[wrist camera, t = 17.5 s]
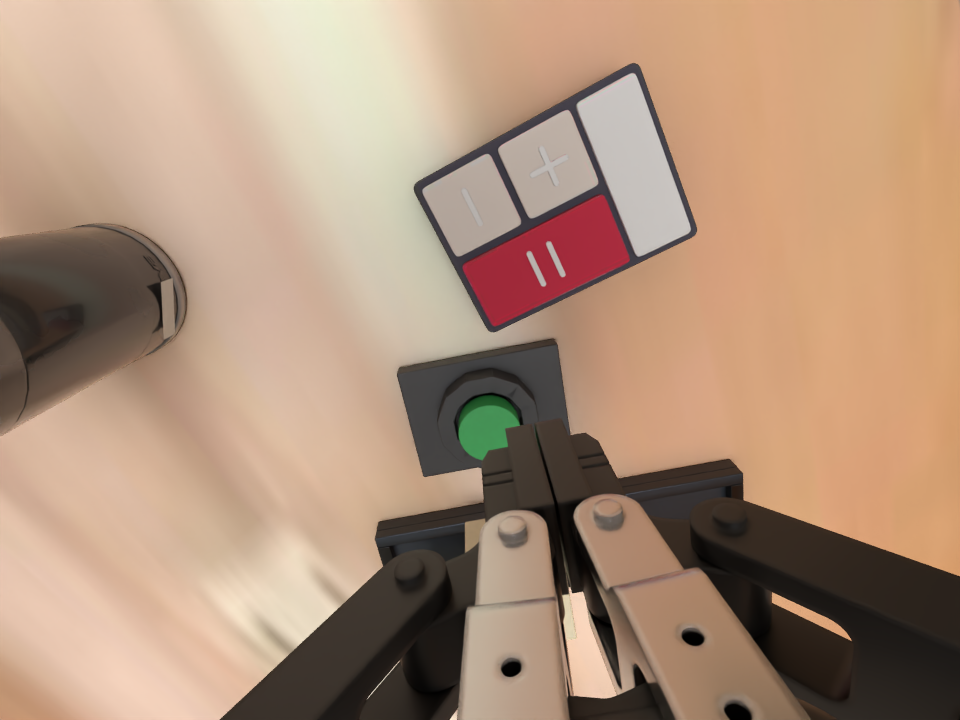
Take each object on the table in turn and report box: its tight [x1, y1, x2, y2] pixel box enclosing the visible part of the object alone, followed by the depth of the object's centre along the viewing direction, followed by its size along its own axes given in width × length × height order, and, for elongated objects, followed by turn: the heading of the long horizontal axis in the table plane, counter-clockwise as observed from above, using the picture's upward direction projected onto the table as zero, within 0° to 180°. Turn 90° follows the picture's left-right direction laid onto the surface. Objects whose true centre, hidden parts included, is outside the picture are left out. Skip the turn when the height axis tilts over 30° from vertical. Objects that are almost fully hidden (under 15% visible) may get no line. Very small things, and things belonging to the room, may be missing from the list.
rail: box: [375, 459, 743, 587], centre depth 44 cm, size 30×8×2 cm, turn 101°
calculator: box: [414, 63, 697, 332], centre depth 34 cm, size 11×4×15 cm
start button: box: [459, 395, 520, 460], centre depth 37 cm, size 4×4×2 cm
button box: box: [397, 339, 570, 477], centre depth 39 cm, size 12×9×3 cm
